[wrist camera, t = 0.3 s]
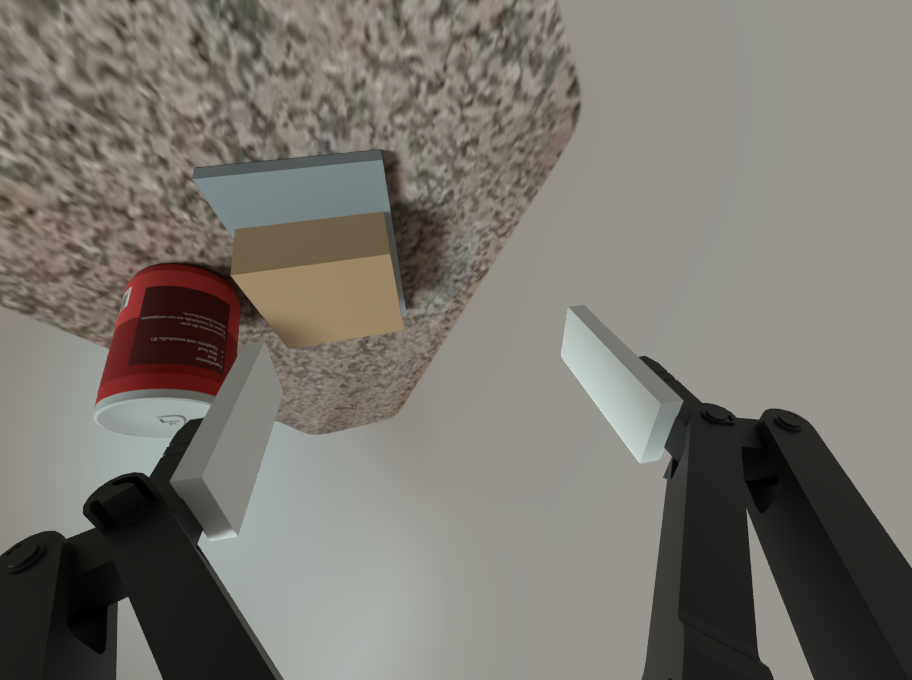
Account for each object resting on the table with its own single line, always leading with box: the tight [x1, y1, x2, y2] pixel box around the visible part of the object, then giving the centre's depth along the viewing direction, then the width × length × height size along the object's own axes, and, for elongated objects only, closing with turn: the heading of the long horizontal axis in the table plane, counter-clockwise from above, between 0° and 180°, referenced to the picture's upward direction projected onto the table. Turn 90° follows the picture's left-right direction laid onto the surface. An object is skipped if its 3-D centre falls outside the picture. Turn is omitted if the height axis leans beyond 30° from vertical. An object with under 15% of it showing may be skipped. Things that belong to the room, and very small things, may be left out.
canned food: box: [94, 264, 240, 438], centre depth 28 cm, size 8×8×11 cm
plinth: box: [193, 150, 407, 349], centre depth 30 cm, size 18×11×5 cm, turn 178°
